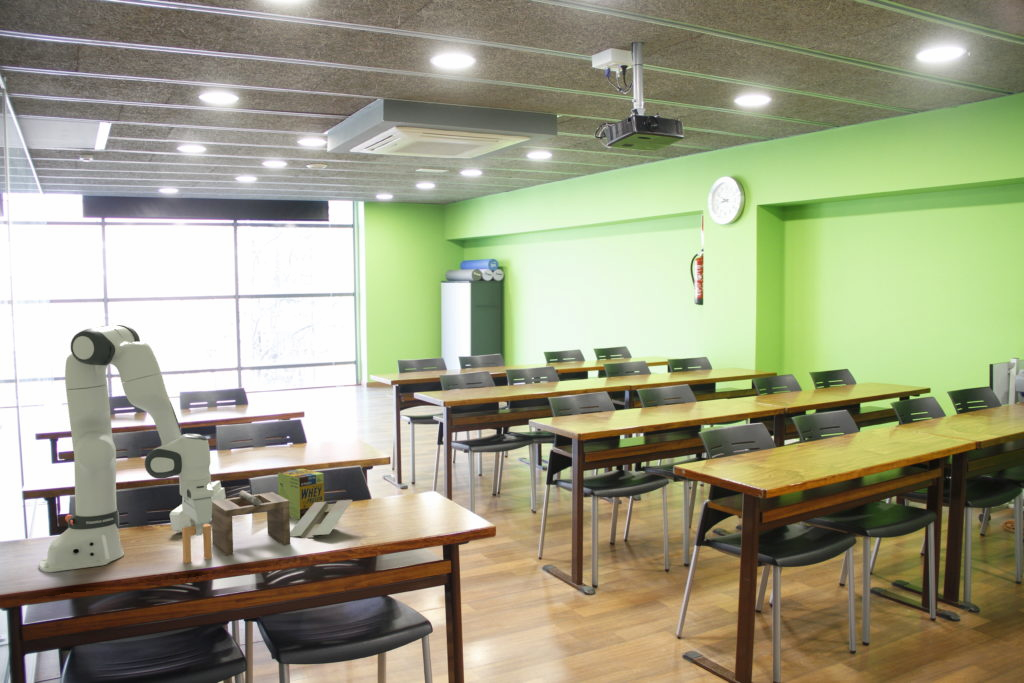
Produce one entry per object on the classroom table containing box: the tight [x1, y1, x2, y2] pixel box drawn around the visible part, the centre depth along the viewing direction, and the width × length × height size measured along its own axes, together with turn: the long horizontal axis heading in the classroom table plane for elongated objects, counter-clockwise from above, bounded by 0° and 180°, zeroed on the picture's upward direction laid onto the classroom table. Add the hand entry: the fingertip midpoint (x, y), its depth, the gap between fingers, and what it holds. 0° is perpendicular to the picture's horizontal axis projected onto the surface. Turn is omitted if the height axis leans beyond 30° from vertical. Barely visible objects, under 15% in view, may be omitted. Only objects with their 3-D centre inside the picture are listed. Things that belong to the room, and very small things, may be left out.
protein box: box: [277, 468, 325, 521], centre depth 287 cm, size 10×15×16 cm
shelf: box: [211, 490, 291, 557], centre depth 249 cm, size 20×16×16 cm
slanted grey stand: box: [290, 499, 353, 539], centre depth 263 cm, size 19×10×17 cm
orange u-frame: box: [181, 523, 213, 564], centre depth 234 cm, size 8×3×10 cm, turn 126°
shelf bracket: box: [169, 480, 227, 532], centre depth 275 cm, size 6×27×14 cm, turn 168°
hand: (196, 532), depth 234 cm, fingers open, 4 cm apart
